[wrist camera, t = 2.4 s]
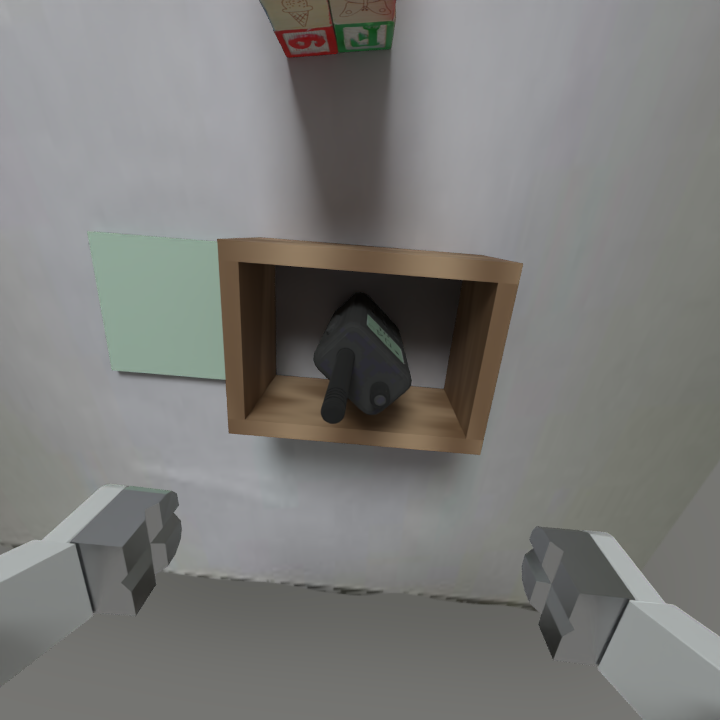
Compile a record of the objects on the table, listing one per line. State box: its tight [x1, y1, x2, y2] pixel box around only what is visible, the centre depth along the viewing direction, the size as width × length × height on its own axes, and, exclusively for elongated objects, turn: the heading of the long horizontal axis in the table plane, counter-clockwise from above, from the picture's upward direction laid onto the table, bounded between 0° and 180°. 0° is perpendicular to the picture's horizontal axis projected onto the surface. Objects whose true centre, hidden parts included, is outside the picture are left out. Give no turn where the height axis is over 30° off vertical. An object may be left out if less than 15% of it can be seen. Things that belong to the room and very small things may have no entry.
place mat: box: [87, 232, 226, 380], centre depth 26 cm, size 10×10×1 cm
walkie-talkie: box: [313, 292, 412, 424], centre depth 19 cm, size 5×3×15 cm
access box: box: [217, 237, 523, 455], centre depth 22 cm, size 15×11×7 cm
